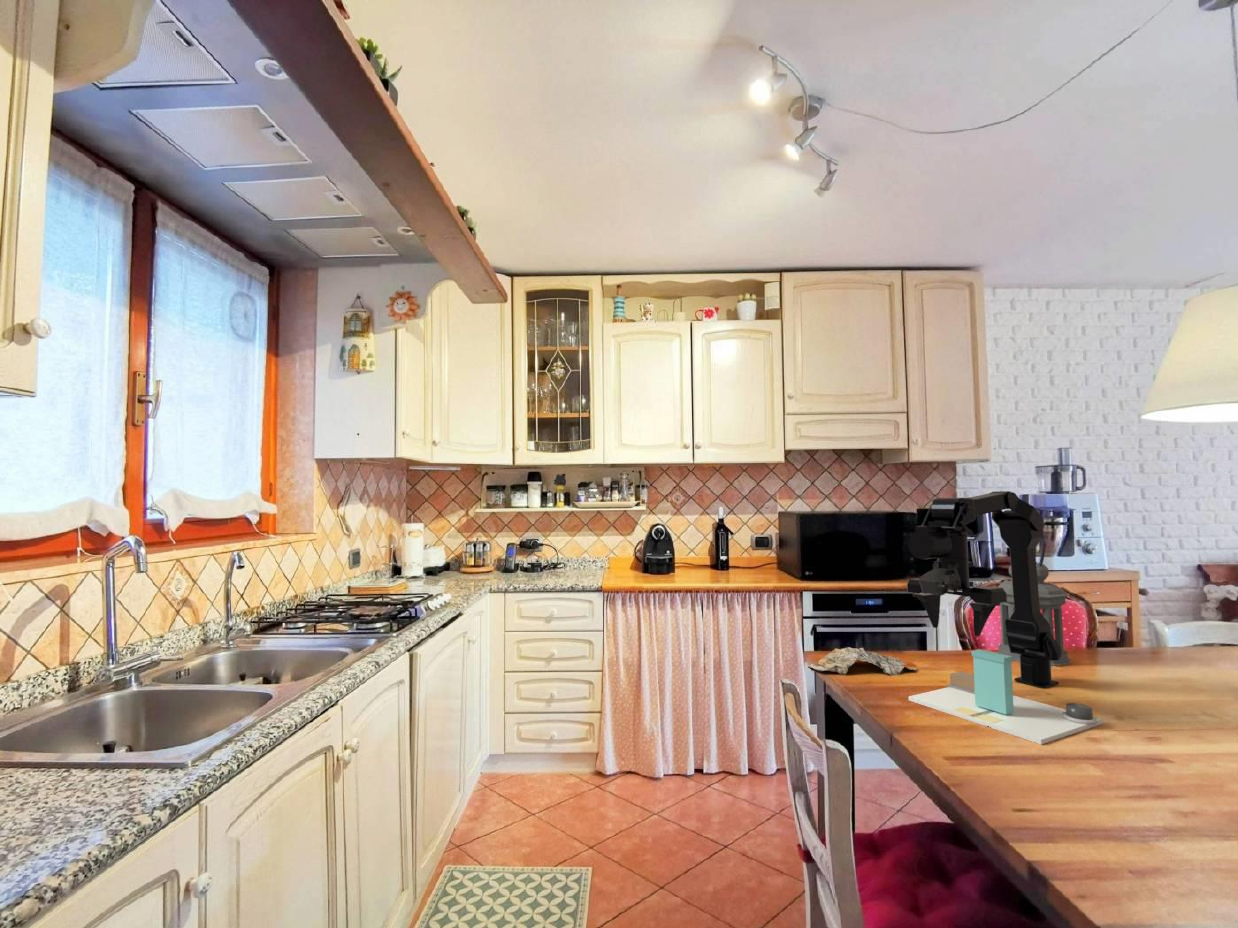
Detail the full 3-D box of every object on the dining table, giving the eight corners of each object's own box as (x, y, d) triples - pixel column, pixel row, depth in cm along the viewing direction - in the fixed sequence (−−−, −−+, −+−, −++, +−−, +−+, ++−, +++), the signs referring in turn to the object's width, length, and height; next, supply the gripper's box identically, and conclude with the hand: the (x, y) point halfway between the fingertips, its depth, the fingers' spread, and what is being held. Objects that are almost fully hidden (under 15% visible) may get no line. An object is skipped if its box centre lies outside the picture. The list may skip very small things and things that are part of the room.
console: (965, 685, 136) (964, 669, 136) (1105, 724, 112) (1104, 705, 112) (906, 699, 127) (905, 682, 127) (1045, 745, 103) (1044, 724, 103)
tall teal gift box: (982, 702, 121) (980, 649, 122) (1015, 712, 116) (1012, 656, 116) (973, 704, 120) (971, 650, 121) (1006, 714, 114) (1004, 658, 115)
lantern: (1086, 661, 155) (1078, 526, 157) (1048, 670, 148) (1041, 528, 150) (1019, 647, 170) (1012, 524, 172) (982, 654, 163) (976, 525, 165)
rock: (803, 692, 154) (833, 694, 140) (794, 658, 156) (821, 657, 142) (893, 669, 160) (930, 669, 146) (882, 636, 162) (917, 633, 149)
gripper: (888, 555, 131) (891, 627, 130) (971, 562, 115) (975, 645, 114) (922, 552, 136) (924, 622, 135) (1006, 559, 120) (1010, 639, 119)
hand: (955, 631), depth 126 cm, fingers open, 9 cm apart
